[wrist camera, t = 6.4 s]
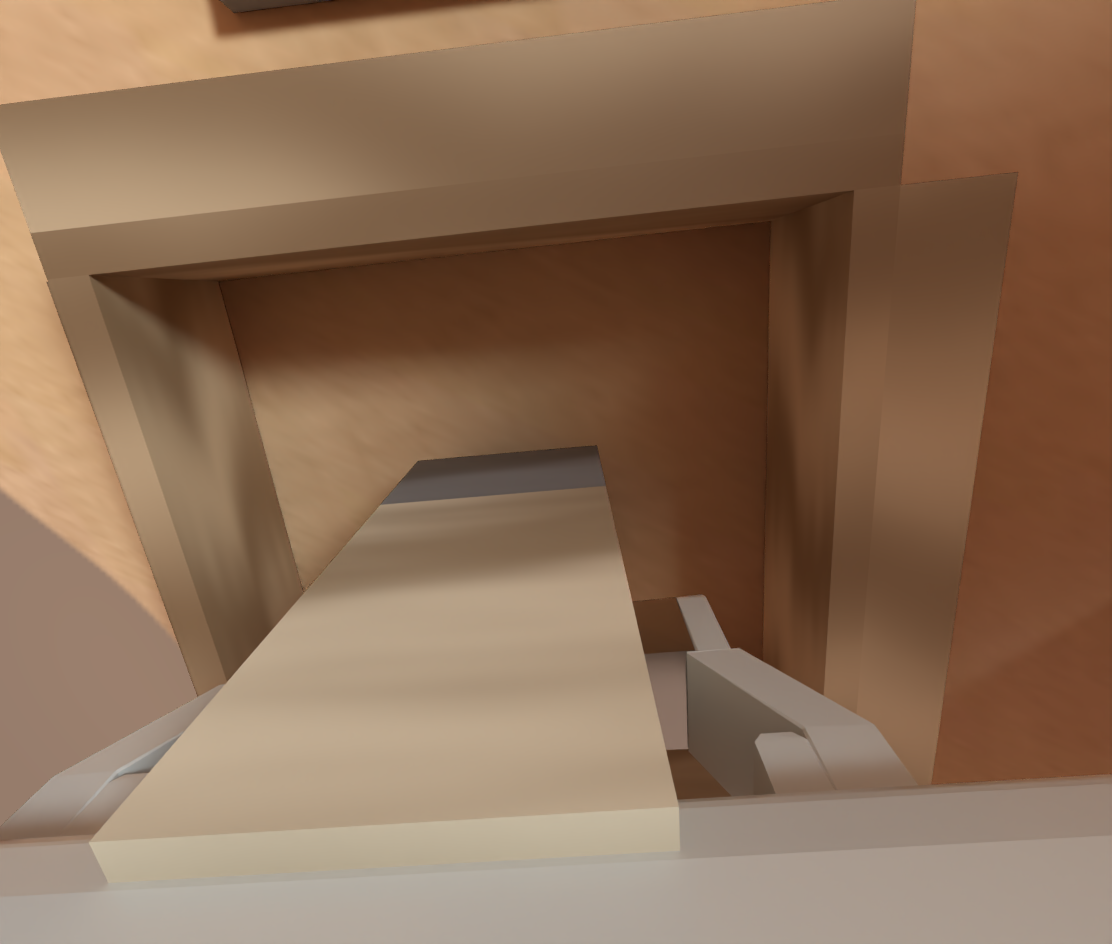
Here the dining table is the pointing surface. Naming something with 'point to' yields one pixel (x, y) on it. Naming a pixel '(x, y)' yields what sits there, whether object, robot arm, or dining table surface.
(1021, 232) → the dining table surface
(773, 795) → the robot arm
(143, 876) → the box
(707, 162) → the wooden frame
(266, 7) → the rubber mat
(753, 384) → the dining table surface
